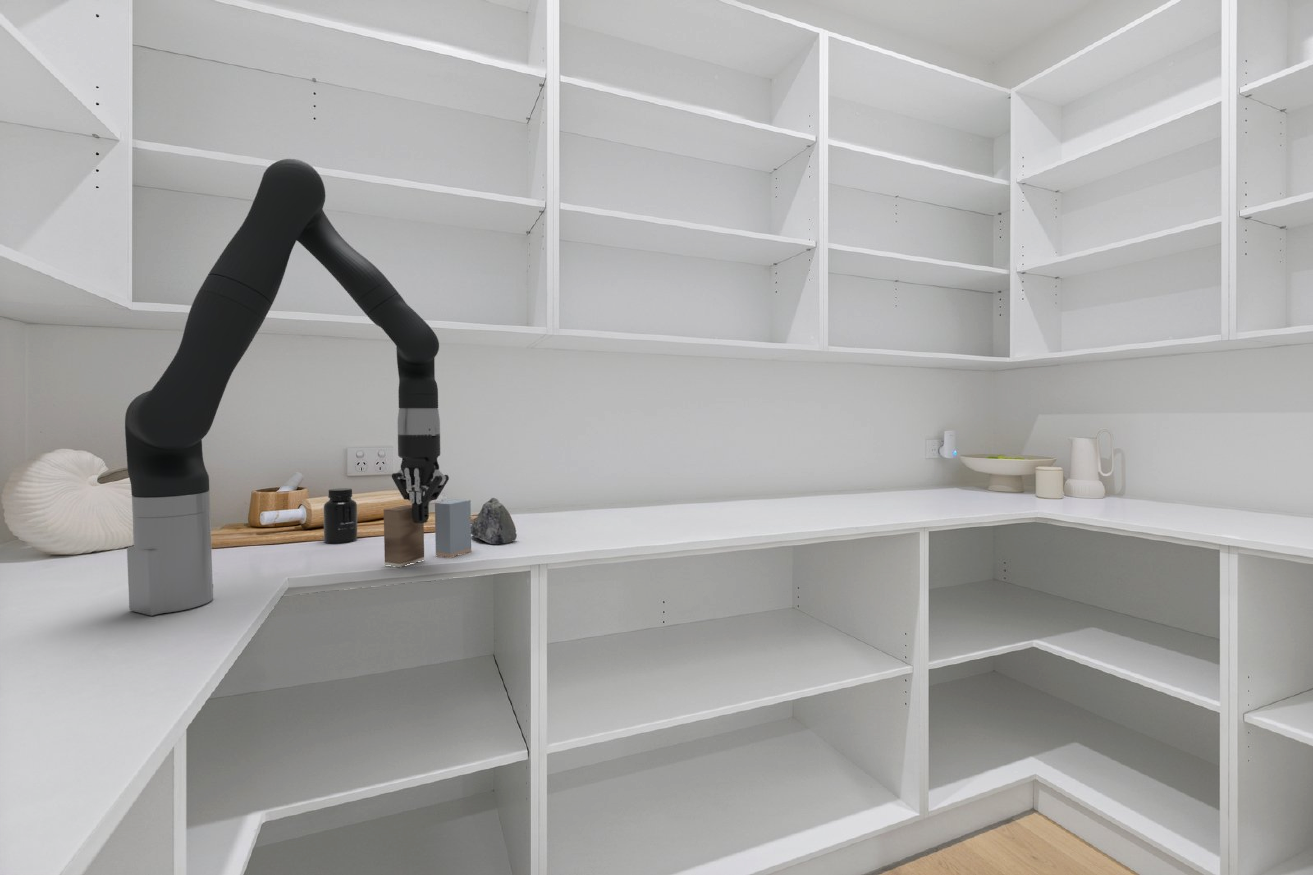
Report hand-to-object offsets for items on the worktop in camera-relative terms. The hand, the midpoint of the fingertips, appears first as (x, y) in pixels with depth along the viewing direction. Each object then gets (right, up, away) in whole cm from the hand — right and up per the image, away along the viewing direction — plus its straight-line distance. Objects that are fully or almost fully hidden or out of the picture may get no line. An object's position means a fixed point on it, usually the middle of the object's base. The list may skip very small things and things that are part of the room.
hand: (420, 522), depth 114 cm
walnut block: (-4, -8, +2) cm, 10 cm away
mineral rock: (+7, -8, +24) cm, 26 cm away
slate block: (+3, -8, +10) cm, 13 cm away
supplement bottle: (-28, -8, +23) cm, 37 cm away
